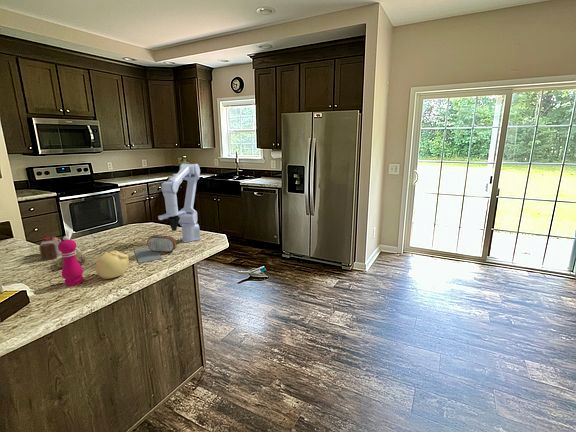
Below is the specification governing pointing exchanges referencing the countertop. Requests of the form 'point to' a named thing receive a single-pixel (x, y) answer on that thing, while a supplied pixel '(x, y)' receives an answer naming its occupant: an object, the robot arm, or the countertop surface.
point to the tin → (161, 243)
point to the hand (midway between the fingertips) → (174, 230)
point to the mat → (147, 255)
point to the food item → (49, 248)
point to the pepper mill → (70, 263)
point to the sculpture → (111, 264)
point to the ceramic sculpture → (79, 258)
